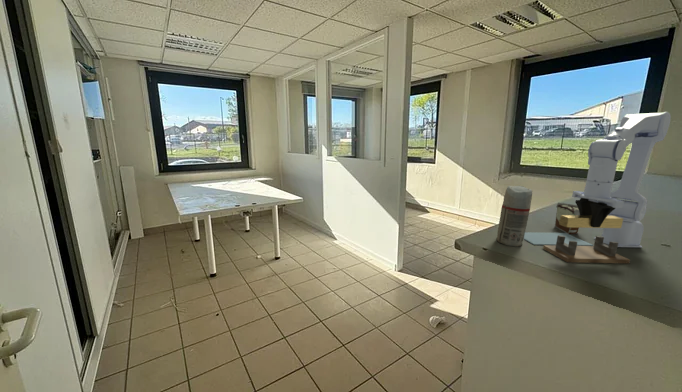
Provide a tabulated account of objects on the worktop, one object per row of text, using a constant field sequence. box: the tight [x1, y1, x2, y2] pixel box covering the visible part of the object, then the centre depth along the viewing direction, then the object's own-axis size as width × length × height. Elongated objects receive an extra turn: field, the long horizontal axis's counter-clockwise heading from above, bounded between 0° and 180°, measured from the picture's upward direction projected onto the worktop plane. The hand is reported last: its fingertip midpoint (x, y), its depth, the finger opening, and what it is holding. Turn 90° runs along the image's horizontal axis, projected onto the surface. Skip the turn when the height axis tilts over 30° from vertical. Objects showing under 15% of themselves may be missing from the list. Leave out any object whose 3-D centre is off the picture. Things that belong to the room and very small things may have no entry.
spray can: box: [495, 185, 533, 247], centre depth 92 cm, size 8×8×20 cm
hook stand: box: [542, 235, 631, 264], centre depth 83 cm, size 18×10×6 cm, turn 89°
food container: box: [554, 202, 580, 235], centre depth 106 cm, size 12×6×10 cm, turn 168°
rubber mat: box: [523, 231, 594, 246], centre depth 98 cm, size 20×12×1 cm, turn 89°
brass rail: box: [559, 215, 623, 229], centre depth 82 cm, size 16×3×3 cm, turn 88°
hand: (590, 225), depth 82 cm, fingers closed on brass rail, 3 cm apart
